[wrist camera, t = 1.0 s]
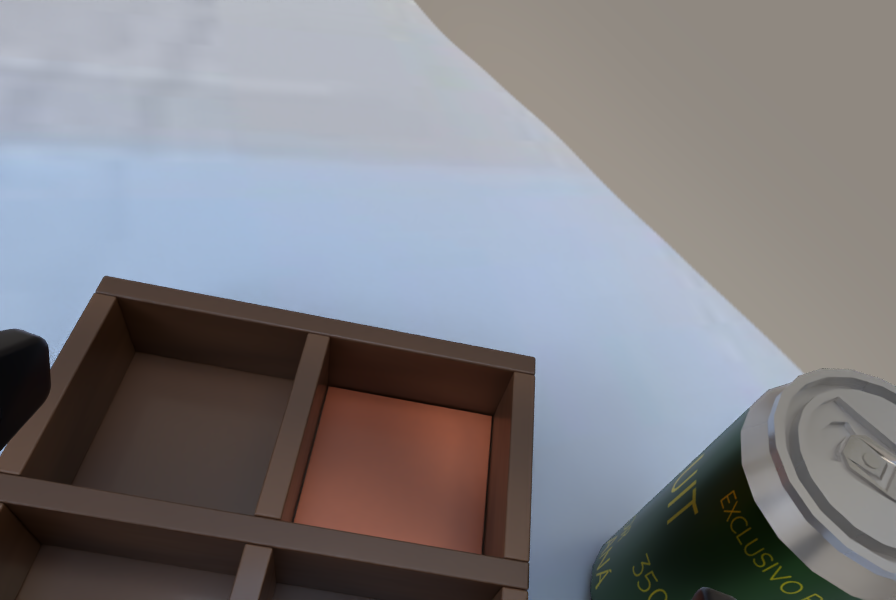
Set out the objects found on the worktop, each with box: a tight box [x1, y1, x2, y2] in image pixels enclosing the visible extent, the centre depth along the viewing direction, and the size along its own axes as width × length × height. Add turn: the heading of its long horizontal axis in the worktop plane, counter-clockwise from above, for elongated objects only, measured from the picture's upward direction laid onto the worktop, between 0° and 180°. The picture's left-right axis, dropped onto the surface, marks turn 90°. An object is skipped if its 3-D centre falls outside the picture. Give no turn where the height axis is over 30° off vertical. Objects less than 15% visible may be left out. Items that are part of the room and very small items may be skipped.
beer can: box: [590, 368, 896, 600], centre depth 19 cm, size 5×5×12 cm
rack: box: [0, 276, 535, 600], centre depth 21 cm, size 16×16×4 cm
